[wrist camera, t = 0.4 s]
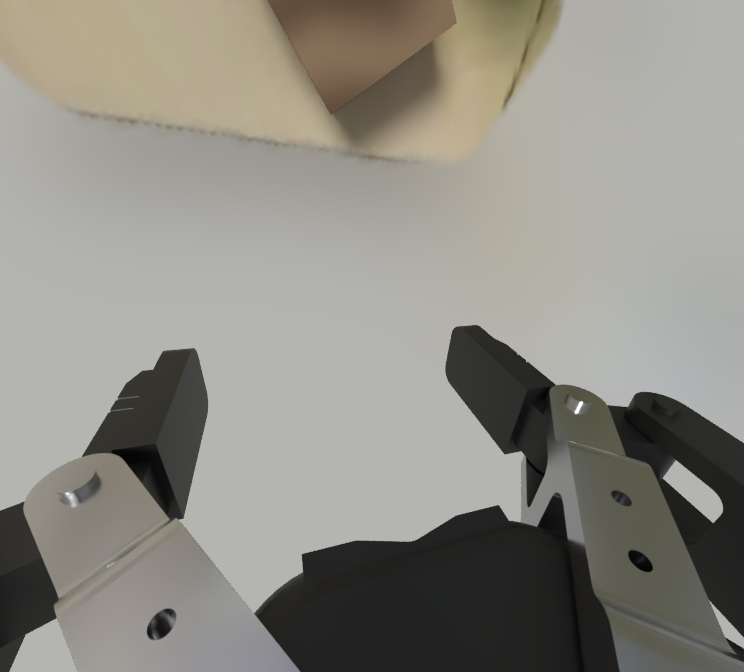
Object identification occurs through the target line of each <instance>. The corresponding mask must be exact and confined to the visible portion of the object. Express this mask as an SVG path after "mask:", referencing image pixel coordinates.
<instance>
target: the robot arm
mask: <svg viewBox="0 0 744 672" xmlns="http://www.w3.org/2000/svg"><path fill="white" fill-rule="evenodd" d="M446 376H447V379H448V381H449V383H450V384H451V386H452V387H453V388H454V389H455V391H456V392H457V393H458V395H459V396H460V397H461V399H462V400H463V401H464V402H465V404H466V405H467V406H468V408H469V409H470V410H471V411H472V413H473V414H474V415H475V417H476V418H477V419H478V420H479V422H480V423H481V424H482V426H483V427H484V428H485V429H486V431H487V432H488V433H489V434H490V436H491V437H492V439H493V440H494V441H495V442H496V444H497V445H498V446H499V448H500V449H501V450H502V451H503V453H504V454H509V453H514V452H519V451H522V452H523V454H524V457H523V460H522V463H521V522H514V521H508V519H507V517H506V516H505V514H504V513H503V511H502V510H501V508H500V506H499V505H497V506H493V507H489V508H485V509H481V510H477V511H473V512H469V513H465V514H461V515H457V516H455V517H453V518H452V519H450V520H448V521H447V522H445V523H444V524H442V525H440V526H439V527H437V528H436V529H434V530H432V531H431V532H429V533H427V534H426V535H424V536H422V537H421V538H419V539H418V540H415V541H412V542H394V541H393V542H392V541H353V542H349V543H345V544H341V545H337V546H333V547H329V548H325V549H321V550H317V551H313V552H309V553H305V554H302V562H303V573H301V574H299V575H298V576H296V577H294V578H292V579H291V580H290V581H288V582H287V583H285V584H284V585H283V586H282V587H280V588H279V589H278V590H276V591H275V592H274V593H273V594H272V595H271V596H270V597H269V598H268V599H267V600H266V601H265V602H264V603H263V604H262V605H261V606H260V607H259V609H258V610H257V611H256V612H255V613H253V612H252V611H251V609H250V608H249V607H248V606H247V604H246V603H245V602H244V601H243V599H242V598H241V597H240V596H239V594H238V593H237V592H236V591H235V589H234V588H233V587H232V586H231V584H230V583H229V582H228V581H227V579H226V578H225V577H224V576H223V574H222V573H221V572H220V571H219V569H218V568H217V567H216V566H215V564H214V563H213V562H212V561H211V560H210V558H209V557H208V555H207V554H206V553H205V552H204V550H203V549H202V548H201V547H200V545H198V543H197V542H196V541H195V539H194V538H193V537H192V536H191V534H190V533H189V532H188V531H187V529H186V528H185V527H184V526H183V524H182V523H181V522H180V521H179V519H183V518H184V514H185V509H186V505H187V500H188V496H189V492H190V487H191V483H192V478H193V474H194V470H195V466H196V461H197V457H198V453H199V448H200V443H201V439H202V435H203V431H204V427H205V422H206V418H207V413H208V398H207V391H206V387H205V383H204V378H203V374H202V370H201V366H200V362H199V357H198V354H197V352H196V350H195V349H194V348H192V349H180V350H169V351H163V352H162V354H161V356H160V358H159V360H158V361H157V363H156V365H155V367H154V369H153V370H147V371H142V372H140V373H139V374H138V375H137V376H135V377H134V378H133V379H132V380H130V381H129V382H128V383H126V385H125V386H124V388H123V390H122V391H121V393H120V395H119V396H118V400H117V401H115V403H114V405H113V406H112V408H111V412H110V413H108V414H107V416H106V418H105V420H104V421H103V423H102V424H101V426H100V428H99V430H98V431H97V433H96V434H95V436H94V437H93V439H92V441H91V442H90V444H89V446H88V447H87V449H86V451H85V453H84V454H83V456H82V457H81V458H78V459H75V460H73V461H70V462H68V463H66V464H64V465H62V466H60V467H59V468H57V469H55V470H54V471H52V472H51V473H49V474H48V475H47V476H45V477H44V478H43V479H42V480H41V481H40V482H39V483H37V484H36V485H35V487H34V488H33V489H32V490H31V491H30V493H29V495H28V496H27V497H26V500H25V502H22V503H20V504H17V505H15V506H12V507H9V508H6V509H4V510H1V511H0V672H9V671H10V668H11V666H12V664H13V662H14V659H15V657H16V655H17V653H18V650H19V648H20V646H21V644H22V642H23V639H24V637H25V634H27V633H29V632H31V631H33V630H35V629H37V628H39V627H41V626H43V625H44V624H46V623H48V622H50V621H52V620H54V619H56V618H57V620H58V622H59V625H60V627H61V630H62V633H63V635H64V638H65V640H66V643H67V645H68V648H69V650H70V653H71V655H72V658H73V660H74V663H75V666H76V668H77V671H78V672H744V649H743V648H742V647H740V646H738V645H737V644H735V643H733V642H732V641H730V640H728V639H727V638H725V636H724V634H723V632H722V629H721V627H720V625H719V622H718V620H717V618H716V616H715V613H714V611H713V609H712V606H711V604H710V601H711V602H712V604H713V605H714V606H715V607H716V608H717V609H718V610H719V611H720V612H721V613H722V614H723V615H724V616H725V617H726V619H727V620H728V621H729V622H730V623H731V624H732V625H733V626H734V627H735V628H736V629H737V630H738V632H739V633H740V634H741V635H742V636H743V637H744V443H743V442H741V441H739V440H738V439H736V438H735V437H733V436H732V435H730V434H729V433H727V432H726V431H724V430H723V429H721V428H719V427H718V426H716V425H715V424H713V423H712V422H710V421H709V420H707V419H706V418H704V417H702V416H701V415H699V414H698V413H697V412H694V411H693V410H692V409H690V408H689V407H687V406H686V405H684V404H682V403H680V402H678V401H676V400H674V399H672V398H669V397H667V396H664V395H660V394H657V393H651V392H640V393H637V394H635V395H634V397H633V399H632V401H631V402H630V404H629V406H628V407H620V406H609V405H606V403H605V402H604V401H603V400H602V399H601V398H599V397H598V396H596V395H595V394H593V393H591V392H590V391H587V390H585V389H582V388H580V387H576V386H571V385H555V384H554V383H553V382H552V381H550V380H549V379H548V378H547V377H546V376H544V375H543V374H542V373H541V372H539V371H538V370H537V369H536V368H535V367H533V366H532V365H531V364H530V363H528V362H526V360H525V359H523V358H522V357H521V356H520V355H517V353H516V352H515V351H514V350H513V349H511V348H510V347H509V346H508V345H506V344H504V343H502V342H500V341H498V340H496V339H494V338H493V337H492V336H490V335H489V334H488V333H487V332H486V331H485V330H483V329H482V328H481V327H480V326H478V325H471V326H459V327H456V328H454V329H453V331H452V335H451V340H450V346H449V351H448V355H447V361H446ZM675 460H677V461H678V462H679V463H681V464H682V465H683V466H684V467H685V468H687V469H688V470H689V471H690V472H692V473H693V474H694V475H695V476H697V477H698V478H699V479H700V480H702V481H703V482H704V483H705V484H707V485H708V486H709V487H710V488H712V489H713V490H714V491H715V492H716V493H717V495H718V496H719V497H720V499H721V501H722V504H723V513H722V514H721V516H720V517H719V518H718V519H717V520H716V521H715V522H714V523H712V522H711V521H710V520H709V519H708V518H706V517H705V516H704V515H703V514H702V513H701V512H699V510H697V509H696V508H695V507H694V506H693V505H692V504H691V503H690V502H688V501H687V500H686V499H685V498H684V497H683V496H682V495H681V494H679V493H678V492H677V491H676V490H675V489H674V488H673V487H672V486H670V485H669V484H668V483H667V482H666V481H665V480H663V477H664V475H665V474H666V473H667V471H668V470H669V468H670V467H671V466H672V464H673V463H674V462H675ZM709 600H710V601H709Z"/></svg>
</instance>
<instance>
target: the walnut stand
mask: <svg viewBox="0 0 744 672" xmlns="http://www.w3.org/2000/svg"><path fill="white" fill-rule="evenodd" d="M268 2H269V4H270V5H271V7H272V9H273V11H274V13H275V14H276V16H277V18H278V20H279V22H280V23H281V25H282V27H283V29H284V31H285V33H286V34H287V36H288V38H289V40H290V42H291V43H292V45H293V47H294V49H295V51H296V53H297V54H298V56H299V58H300V60H301V62H302V63H303V65H304V67H305V69H306V71H307V72H308V74H309V76H310V78H311V80H312V82H313V83H314V85H315V87H316V89H317V91H318V92H319V94H320V96H321V98H322V100H323V101H324V103H325V105H326V107H327V109H328V111H329V112H330V114H331V115H332V114H333V113H334V112H336V111H337V110H338V109H340V108H341V107H343V106H344V105H345V104H347V103H348V102H349V101H351V100H352V99H353V98H355V97H356V96H358V95H359V94H360V93H362V92H363V91H364V90H366V89H367V88H368V87H370V86H371V85H373V84H374V83H375V82H377V81H378V80H379V79H381V78H382V77H384V76H385V75H386V74H388V73H389V72H390V71H392V70H393V69H394V68H396V67H397V66H399V65H400V64H401V63H403V62H404V61H405V60H407V59H408V58H409V57H411V56H412V55H414V54H415V53H416V52H418V51H419V50H420V49H422V48H423V47H424V46H426V45H427V44H429V43H430V42H431V41H433V40H434V39H435V38H437V37H438V36H439V35H441V34H442V33H444V32H445V31H446V30H448V29H449V28H450V27H452V26H453V25H455V24H456V23H457V22H456V18H455V13H454V9H453V4H452V0H268Z"/></svg>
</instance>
